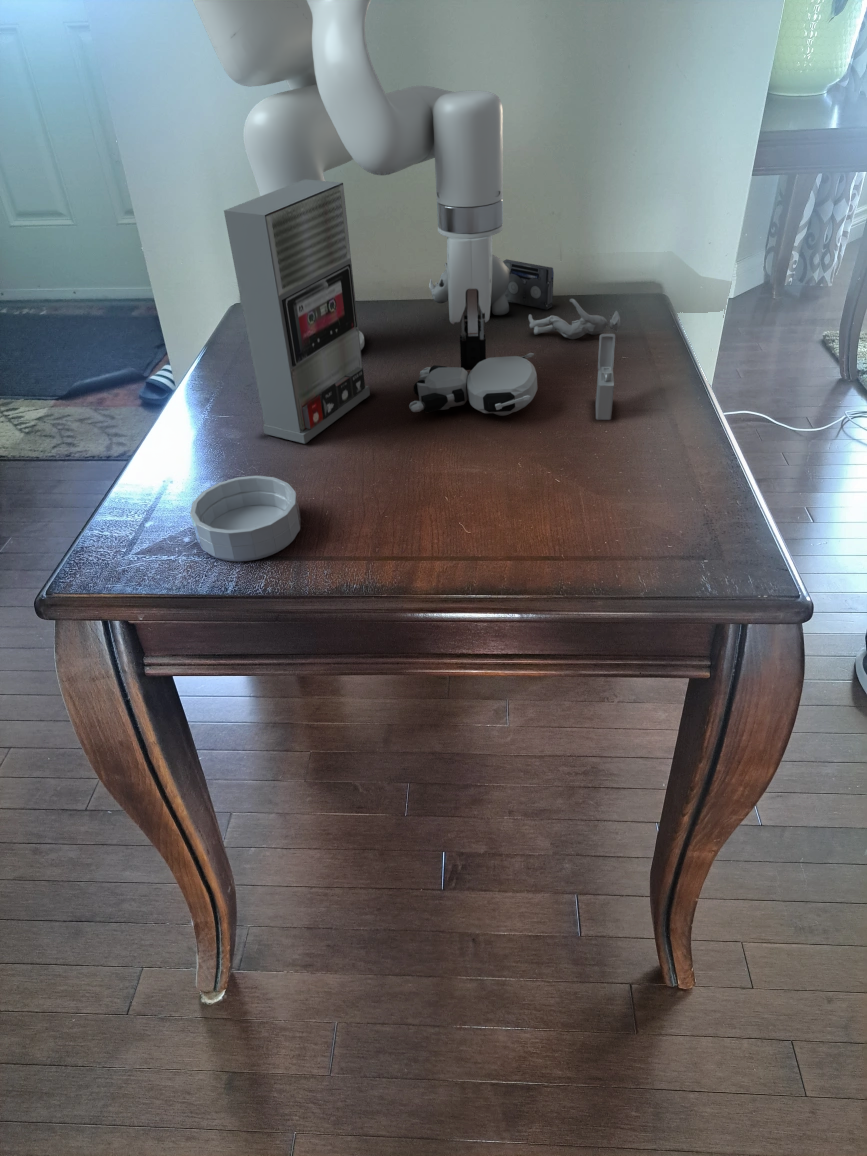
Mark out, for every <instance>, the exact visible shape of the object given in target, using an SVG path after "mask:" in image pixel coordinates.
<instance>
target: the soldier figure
mask: <svg viewBox="0 0 867 1156" xmlns="http://www.w3.org/2000/svg"><path fill="white" fill-rule="evenodd" d="M569 302H570V303H572V305H573V306H574V307H575V309H576V311H577V313H578V315H579V317H580V318H579V319H575V320H572V321H571V324H569V323H568V322H567V321H566V320H564V319H562V318H561V317H560V316H557V315H553V314H552V315H550V316H547V317H545V318H542V319H537V320H536V319H533V315H532V314H531V313H530V314H528V316H527V317H528V322H529V329H533V334H534V336H536V335H539V334H541V333H542V334H543V333H552V332H555V331H556V332H557V333H559V335H562V336H563V337H564V338H566V339H569V340H576V339H579V338H581V337H583V336H584V335H586V334H590V335H591V336H596V335H601V334H603V332H604V331H605V329H606V328H607V327H608V326H609V328H610V330H614V331H615V333H618V331H619V329H620V327H621V326H620V325H621V317H620V314H619V312H618V310H615V312H614V314H613V315H612V314H610V315H609V316H607V319H606V318H605V317H604V316H602V315H598V314H593V315H591V314H589V313H587V312H586V311H585V310H584V309H583V308H582V307H581V305H580V304H579V302H577V300H576V299H574V298H570V299H569ZM609 317H611V318H610V319H609Z"/></svg>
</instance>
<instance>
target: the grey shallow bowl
mask: <svg viewBox="0 0 867 1156" xmlns="http://www.w3.org/2000/svg"><path fill="white" fill-rule="evenodd" d="M298 501H299V500H298V495H297V492H296V490H295V489H294V488H293V487H292V486H291V485H290V483H289V482H286V481H285V480H282V479H280V478H278V477H275V476H265V475H247V476H238V477H233V478H231V479H227V480H224V481H220V482H217V483H216V484H214V485H212V486H210V487H208V488H207V489H205V490H203V491H202V492H201V493H200V494H199V495H198V496H197V497H196V498H195V499H194V500H193V501H192V503H191V507H190V512H189V515H190V519H191V523H192V526H193V531H194V533H195V538H196V540H197V542H198V545H199V546H200V548H201V549H202V551H204V552H206V553H207V554H208V555H210V556H212V557H213V558H216V559H219V560H222V561H227V562H249V561H255V560H261V559H263V558H264V559H265V558H267V557H270V556H272V555H274V554H277V553H279V552H280V551H282V550H284V549H285V548H286V547H288V546H289V545H290V544H291V543H292V542H293V541H294V540H295V539H296V537H297V535H298V533H299V532H300V531H301V519H302V518H301V513H300V508H299V507H300V506H299V502H298Z"/></svg>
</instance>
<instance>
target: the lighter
mask: <svg viewBox="0 0 867 1156" xmlns="http://www.w3.org/2000/svg"><path fill="white" fill-rule="evenodd" d="M598 339H599V341H598V355H597V357H598V358H597V370H598V371H597V380H596V392H595V419H596V420H597V421H599V420H600V421H602V420H603V421H610V420H612V412H613V403H614V402H613V400H614V392H615V391H614V390H615V378H614V362H615V361H614V360H615V345H616V334H615V333H600V334H599V338H598Z"/></svg>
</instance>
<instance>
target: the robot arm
mask: <svg viewBox="0 0 867 1156" xmlns="http://www.w3.org/2000/svg"><path fill="white" fill-rule="evenodd" d="M192 2H193V4H194V5H193V6H194V7H195V10H196V12H197V14H198V16H199V19H200V20H201V23H202V25H203V27H204V29H205V32H206V34H207V37H208V38H209V41H210V43H211V45H212V48H213V50H214V52H215V55H216V57H217V59H218V61H219V62H220V64H221V67H222V68H223V70H224V72H225V73H226V74H227V76H228V77H229V78H230V79H231V80H232V81H233V82H234V83H236V84H237V85H240V86H243V87H248V88H249V87H252V88H253V87H261V86H267V85H272V84H275V83H280V82H284V81H285V82H286V84H287V86H288V88H289V90H284V91H281V92H277V93H274V94H272V95H269V96H266V97H264V98H263V99H261V100H260V101H258V102H257V103H256V104H255V105H254V106H253V107H252V108H251V110H250V111H249V112H248V115H247V117H246V118H245V121H244V125H243V134H242V135H243V137H242V138H243V146H244V151H245V154H246V157H247V160H248V164H249V167H250V169H251V172H252V174H253V177H254V181H255V183H256V186H257V190H258V194H259V197H260V196H263V195H265V194H268V193H271V192H273V191H276V190H278V189H281V188H283V187H286V186H289V185H291V184H294V183H296V182H299V181H302V180H304V179H306V180H317V181H326V178H325V175H324V173H325V172H327V171H330V170H332V169H335V168H337V167H340V166H343V165H344V164H345V165H346V164H347V163H349V162H351V161H354V162H355V163H356V164H357V165H358V166H359V167H360V168H361V169H362V170H364V171H366V172H367V173H369V174H372V175H373V176H374V175H375V176H389V175H392V174H395V173H398V172H401V171H403V170H405V169H407V168H410V167H413V166H414V165H418V164H422V163H424V162H427V161H430V160H433V159H434V169H435V171H434V173H435V192H436V193H435V195H436V196H435V197H436V212H437V213H436V214H437V215H436V216H437V232H438V234H439V235H441V236H443V237H446V263H447V275H448V320H449V322H450V324H452V325H455V323H461V334H460V335H459V351H460V352H459V353H460V354H459V355H460V368H464V369H465V370H466V371H471V370H472V369H473V368H474V367H475V366H476V365H477V364H478V363H479V362H481V361H483V360H485V359H487V345H486V343H487V341H486V334H485V333H484V332H485V324H486V323H487V322H489V320H490V316H491V307H492V306H491V291H492V255H493V236H495V235H497V234H499V233H501V232H502V231H503V229H504V110H503V103H502V101H501V99H500V97H499V96H498V95H497V93H493V92H491V91H487V90H459V91H451V90H447V89H442V88H439V87H434V86H430V85H412V86H408V87H405V88H402V89H397V90H393V91H389V92H387V93H386V92H385V90H384V87H383V85H382V83H381V81H380V79H379V76H378V75H377V73H376V72H377V71H376V70H375V68H374V65H373V62H372V60H371V57H370V52H369V50H368V45H367V39H366V19H367V15H368V14H367V13H368V10H369V7H370V5H371V2H372V0H192ZM359 339H360V349H361V351H362V350H363V349H364V347H365V335H364V333H363V332H362V331H361V330H359Z"/></svg>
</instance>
